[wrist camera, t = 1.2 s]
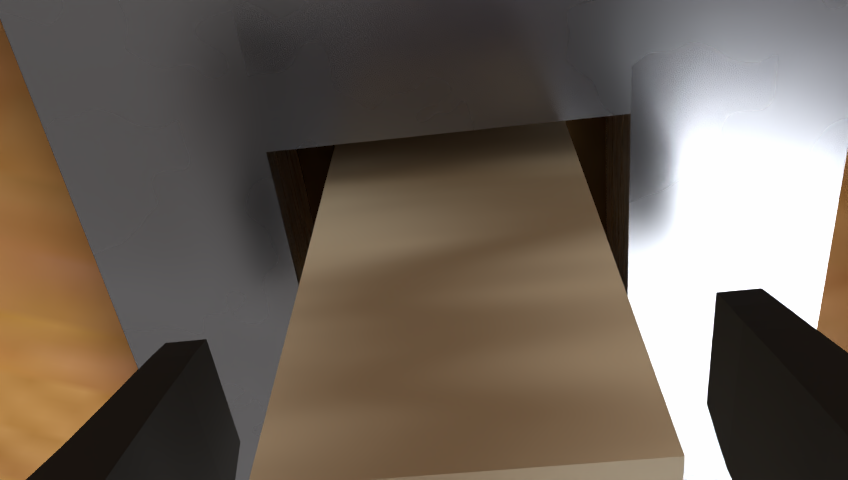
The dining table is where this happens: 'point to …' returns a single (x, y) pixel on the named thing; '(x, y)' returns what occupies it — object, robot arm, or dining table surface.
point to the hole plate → (435, 114)
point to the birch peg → (464, 324)
